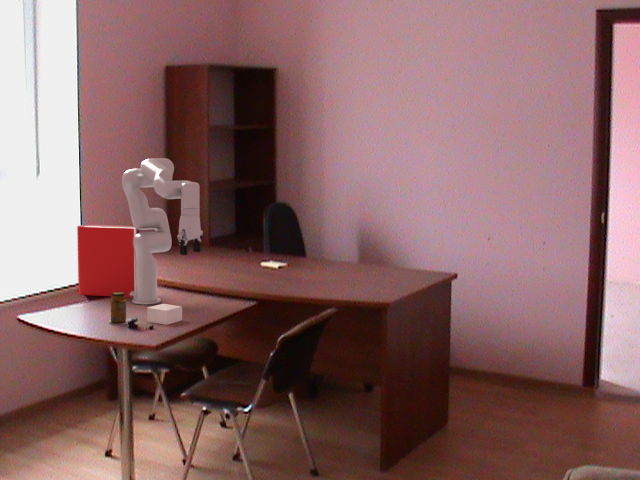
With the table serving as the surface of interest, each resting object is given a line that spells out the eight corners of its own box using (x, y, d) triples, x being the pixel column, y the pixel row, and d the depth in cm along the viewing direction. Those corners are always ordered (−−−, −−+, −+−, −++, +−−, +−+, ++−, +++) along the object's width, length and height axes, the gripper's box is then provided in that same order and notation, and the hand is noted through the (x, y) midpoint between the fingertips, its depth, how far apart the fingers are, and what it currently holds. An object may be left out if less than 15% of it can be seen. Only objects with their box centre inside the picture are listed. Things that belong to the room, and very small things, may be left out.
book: (139, 293, 431) (139, 226, 427) (134, 297, 423) (133, 228, 419) (83, 291, 434) (82, 224, 430) (77, 294, 426) (76, 226, 422)
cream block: (147, 322, 374) (147, 307, 373) (163, 317, 382) (163, 303, 382) (166, 325, 369) (166, 310, 368) (182, 320, 377) (182, 306, 377)
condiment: (125, 319, 377) (124, 290, 375) (130, 323, 369) (129, 294, 368) (107, 321, 374) (106, 292, 372) (112, 325, 366) (111, 295, 364)
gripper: (194, 209, 387) (194, 250, 390) (170, 213, 372) (170, 255, 374) (209, 210, 384) (209, 251, 386) (186, 214, 369) (186, 256, 371)
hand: (190, 253), depth 380 cm, fingers open, 9 cm apart
